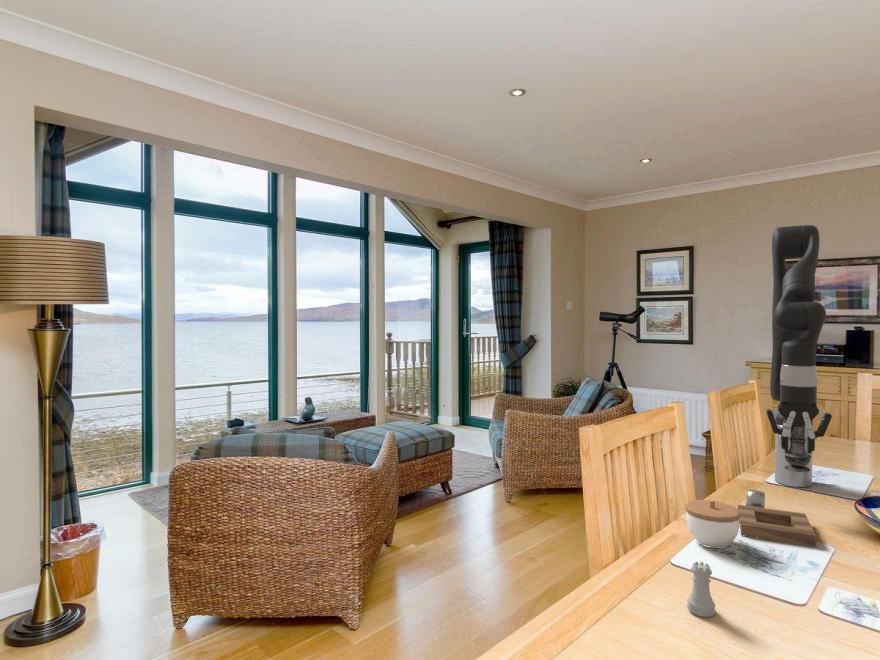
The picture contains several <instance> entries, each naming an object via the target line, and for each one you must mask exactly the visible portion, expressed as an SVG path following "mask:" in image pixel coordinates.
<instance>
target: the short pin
mask: <svg viewBox="0 0 880 660" xmlns="http://www.w3.org/2000/svg"><path fill="white" fill-rule="evenodd" d="M745 499H746V504H745V506H752V507H759V508H765V506H766V503H765V502H766V493H765V492H764V491H762V490H758V489H747V490H746V498H745Z"/></svg>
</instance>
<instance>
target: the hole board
mask: <svg viewBox="0 0 880 660" xmlns="http://www.w3.org/2000/svg"><path fill="white" fill-rule="evenodd" d="M737 509H738V510H739V511H740V518H739V524H740V525H739V531H740V530H741V531H740V536H741V535H745V536H744V537H748V536H751V537H750V538H754V537H758V538H757V539H761V538H764V539H763V540H767V539H768V541H773V540H774V542H781V543H786V542H787V544H793V543H795V545H799V544H801V545H800V546H806V545H807V547H812V546H815V547H814V548H816V545H817V544H816V543H817V540H816V539H817V536H816V534H815V530H814V529H813V527H812V525H811V523H810V521H809V519H808V517H807V515H806V513H803V512H796V511H788V510H782V509H781V510H779V509H772V508H766V507H764V508H759V507H752V506H746V505H744V504H743V505H742V504H737Z"/></svg>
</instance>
